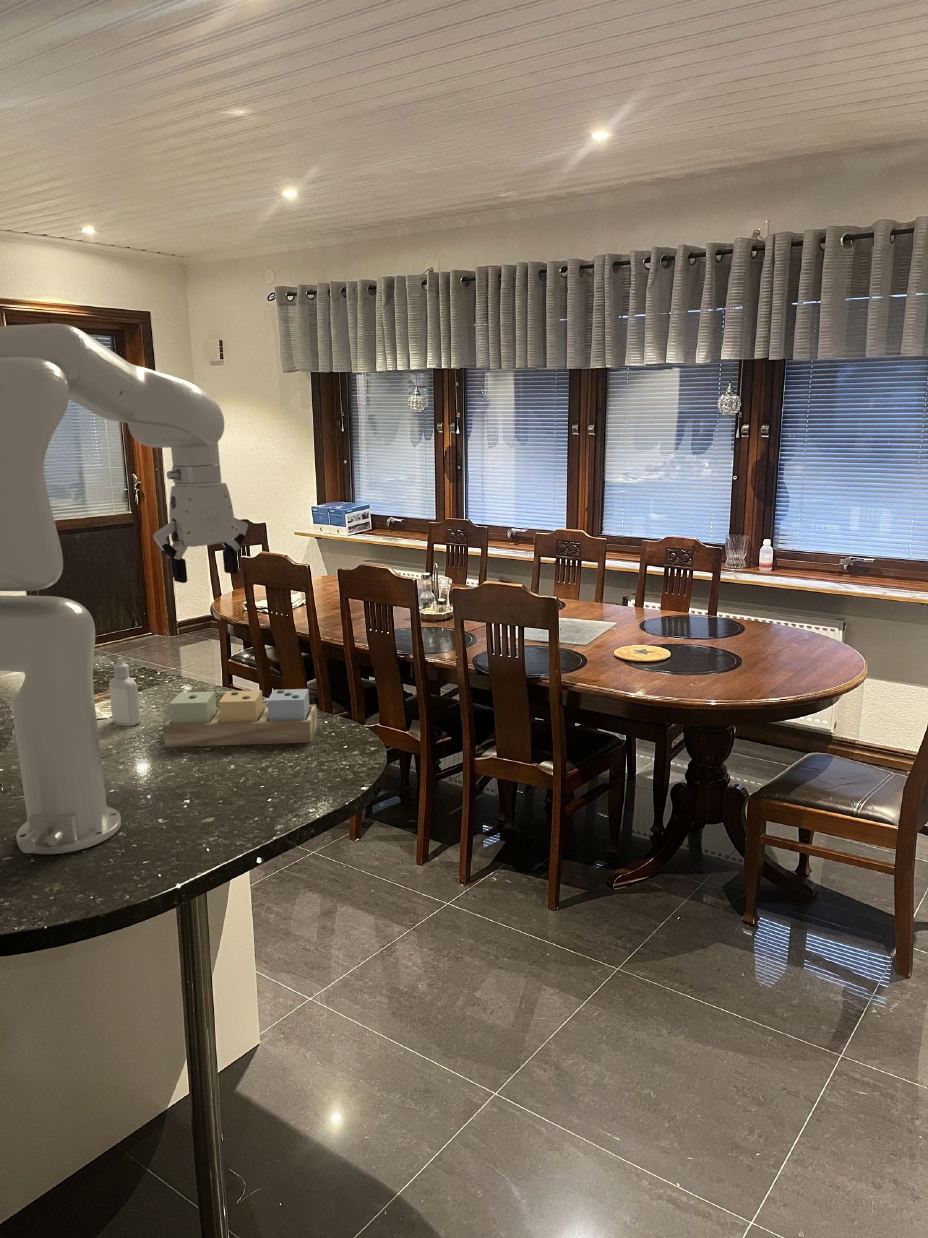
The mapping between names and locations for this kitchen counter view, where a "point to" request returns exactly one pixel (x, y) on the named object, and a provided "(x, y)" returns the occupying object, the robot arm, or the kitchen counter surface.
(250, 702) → the tile two ochre
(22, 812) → the kitchen counter surface
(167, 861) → the kitchen counter surface
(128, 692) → the eye dropper bottle
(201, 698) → the tile one sage
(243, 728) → the tray
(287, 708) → the tile three blue
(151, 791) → the kitchen counter surface
